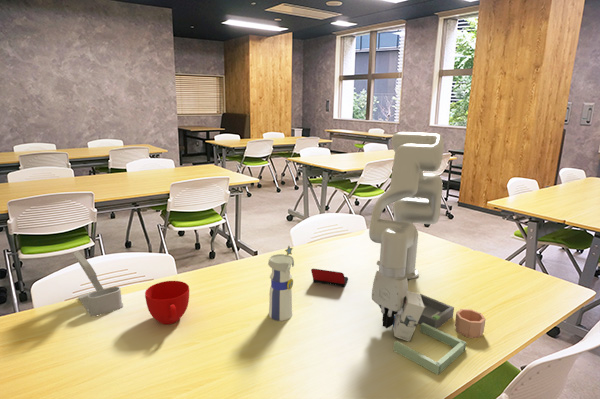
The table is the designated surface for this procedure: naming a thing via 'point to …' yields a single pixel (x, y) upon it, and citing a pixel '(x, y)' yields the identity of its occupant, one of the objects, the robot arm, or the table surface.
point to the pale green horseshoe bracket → (425, 361)
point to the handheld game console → (329, 277)
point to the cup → (469, 323)
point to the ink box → (408, 317)
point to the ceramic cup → (167, 301)
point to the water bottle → (281, 286)
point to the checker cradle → (435, 312)
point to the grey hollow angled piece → (98, 292)
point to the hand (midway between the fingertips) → (387, 325)
